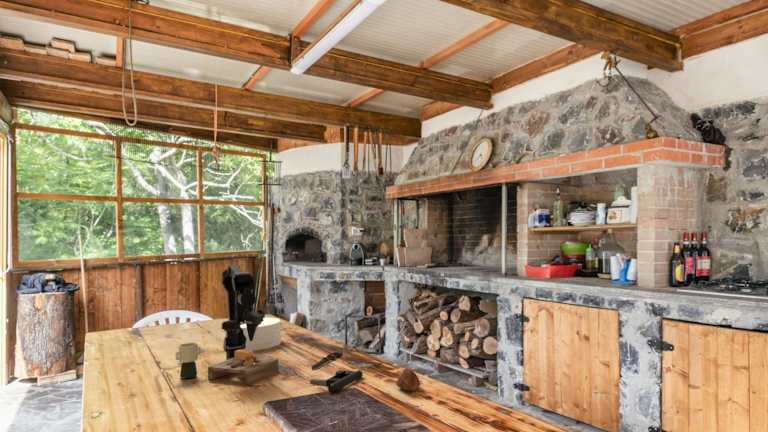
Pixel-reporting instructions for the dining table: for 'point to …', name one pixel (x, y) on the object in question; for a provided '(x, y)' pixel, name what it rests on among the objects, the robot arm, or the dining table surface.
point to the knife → (326, 360)
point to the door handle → (339, 380)
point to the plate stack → (264, 335)
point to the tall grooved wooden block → (244, 357)
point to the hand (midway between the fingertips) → (243, 343)
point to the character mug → (188, 359)
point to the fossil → (408, 380)
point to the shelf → (245, 369)
